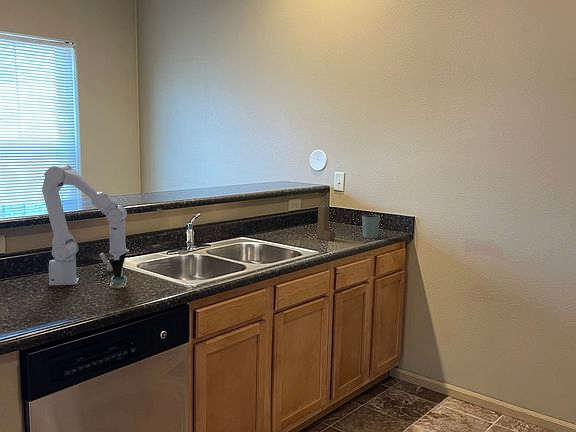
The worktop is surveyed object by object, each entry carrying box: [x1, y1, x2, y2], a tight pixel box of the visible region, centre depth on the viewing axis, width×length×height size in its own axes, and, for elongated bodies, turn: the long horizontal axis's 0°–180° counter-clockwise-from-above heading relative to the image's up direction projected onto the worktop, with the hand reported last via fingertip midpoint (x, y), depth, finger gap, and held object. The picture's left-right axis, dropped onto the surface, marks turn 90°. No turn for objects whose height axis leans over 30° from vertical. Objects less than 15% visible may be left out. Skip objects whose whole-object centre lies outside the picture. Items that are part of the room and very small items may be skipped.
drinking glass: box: [361, 214, 381, 239], centre depth 312 cm, size 10×10×12 cm
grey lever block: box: [99, 252, 113, 272], centre depth 227 cm, size 7×2×8 cm, turn 133°
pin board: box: [109, 275, 128, 289], centre depth 209 cm, size 6×9×2 cm, turn 13°
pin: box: [114, 268, 124, 280], centre depth 209 cm, size 3×3×7 cm
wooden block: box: [316, 204, 336, 242], centre depth 302 cm, size 9×4×18 cm, turn 47°
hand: (118, 274), depth 209 cm, fingers open, 7 cm apart
